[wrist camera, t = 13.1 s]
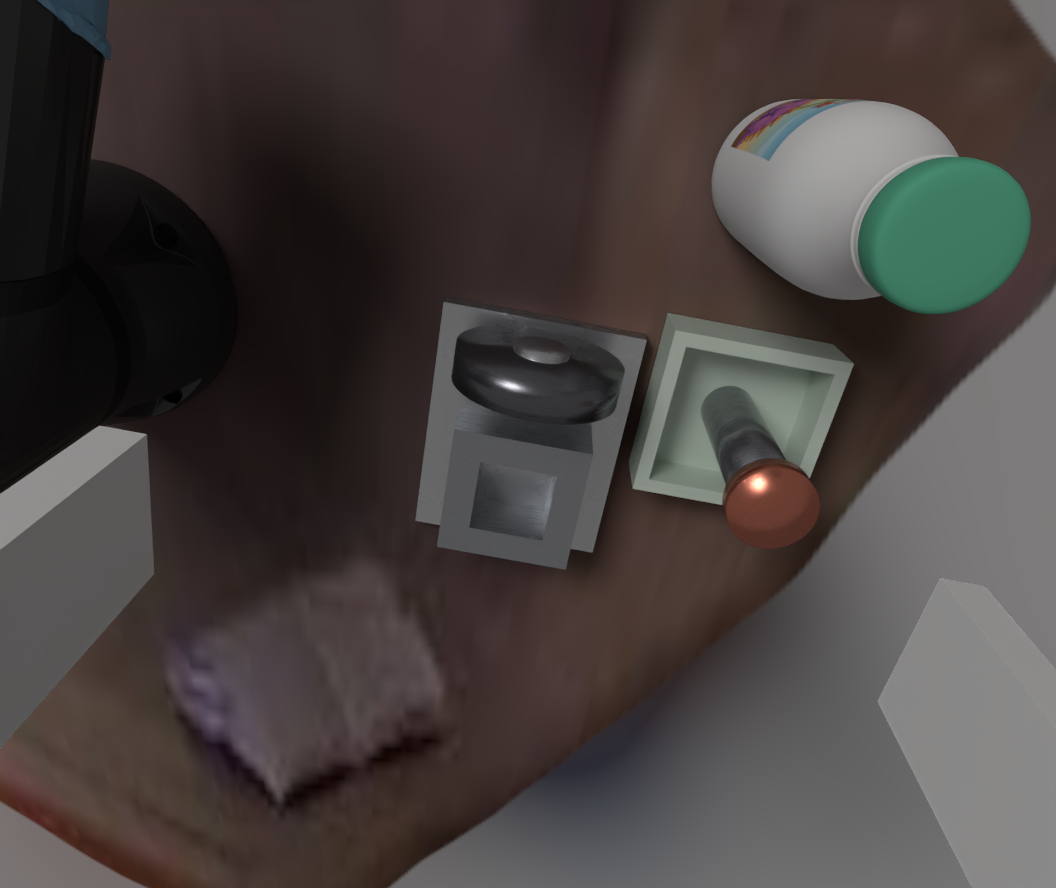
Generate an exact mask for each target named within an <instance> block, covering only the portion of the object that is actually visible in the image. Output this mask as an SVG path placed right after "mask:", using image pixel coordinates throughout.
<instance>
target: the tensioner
mask: <svg viewBox="0 0 1056 888" xmlns="http://www.w3.org/2000/svg"><path fill="white" fill-rule="evenodd" d="M646 342H647V339H646V336H645V334H642V333H637V332H631V331H626V330H621V329H615V328H610V327H605V326H599V325H594V324H589V323H583V322H578V321H573V320H567V319H562V318H557V317H551V316H546V315H541V314H536V313H530V312H525V311H520V310H514V309H509V308H504V307H498V306H493V305H488V304H482V303H477V302H472V301H466V300H461V299H456V298H450V297H446V299H445V301H444V303H443V311H442V319H441V326H440V334H439V342H438V350H437V357H436V365H435V373H434V381H433V388H432V396H431V404H430V412H429V419H428V427H427V435H426V443H425V450H424V458H423V466H422V474H421V481H420V489H419V497H418V505H417V512H416V520H415V521H419V522H425V523H431V524H436V525H440V529H439V536H438V543H437V547H442V548H447V549H453V550H458V551H464V552H470V553H475V554H481V555H486V556H492V557H497V558H503V559H509V560H514V561H520V562H525V563H531V564H537V565H542V566H548V567H553V568H559V569H564V570H566V566H567V562H568V558H569V553H570V549H575V550H580V551H586V552H592V553H593V549H594V545H595V541H596V537H597V533H598V529H599V525H600V521H601V518H602V514H603V510H604V506H605V502H606V498H607V494H608V490H609V486H610V482H611V478H612V475H613V471H614V467H615V463H616V459H617V455H618V451H619V447H620V443H621V439H622V435H623V432H624V428H625V424H626V420H627V416H628V412H629V408H630V404H631V400H632V396H633V392H634V389H635V385H636V381H637V377H638V373H639V369H640V365H641V361H642V357H643V353H644V349H645V346H646Z"/></svg>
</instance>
